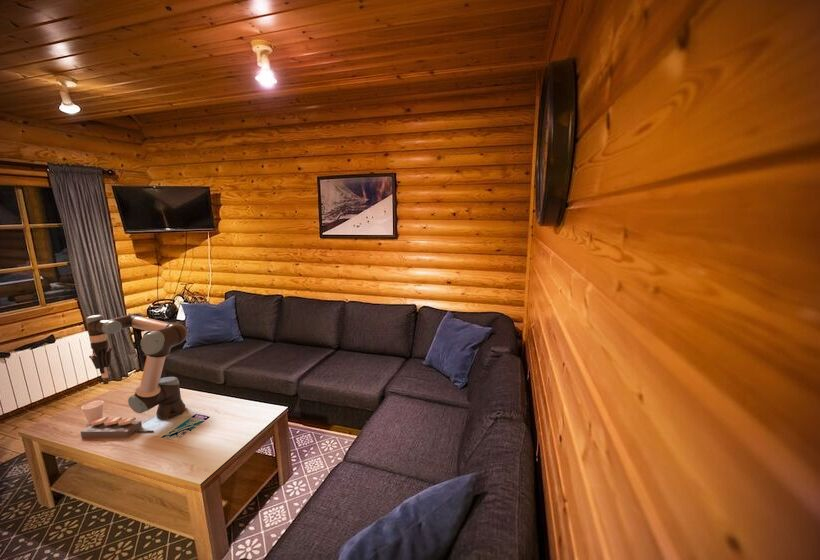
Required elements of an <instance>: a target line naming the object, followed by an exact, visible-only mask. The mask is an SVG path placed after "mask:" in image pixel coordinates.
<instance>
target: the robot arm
mask: <svg viewBox="0 0 820 560" xmlns="http://www.w3.org/2000/svg"><path fill="white" fill-rule="evenodd" d="M86 327H87V332H88V333H87V334H88V338H89V342H90V348H91V349H92V354H91V355H89V356H88V358H89V359H90V360H91V362H92V363H93V366H94V367H95V368H94V369H96V370H99V374H100V376H101V379H107V378H109V367H110V365H111V362H112V361H111V359H112V358H111V357H112V355H111V354H112V350H113V348H112V347H108V346H109V342H108V341H109V340H108V335H110V334H112V335H113V334H117V333H119V332H120V331H122V330H124V329H128V328H134V329H138V330H143V331H146V332H148V333H145V335H143V336H142V338H141V340H140V347H141V348H140V349H141V351H142V352H143V353H144V355H145V356H146V359H145V362H144V365H143V366H144V367H143V370H142V371H143V373H142V376H141V379H140V385H139V386H137V388H136V389H135V390H134V391H135V392H134V394H133V395H131V396H130V397H128V398H127V403H128V405H129V408H130V409H131V410H132V411H133V412H135V413H136V414H143V413H145V412H148V411H149V410H151V409H153V408H154V407H156V406H157V409H156V413H155V414H156V418H157V419H158V420H168V419H172V418H175V417H178V416H179V415H181V414H183V413H185V411H186V408H187V407H186V404H185V402H184V400H183V399H182V396H181V388H180V381H179V378H178V377H176V376H166V377H161V376H162V372H163V369H164V365H165V360H166V357H168V356H169V355H170V353H171V349H172V348H173V347H175V346H178V345H180V344H181V343H183V342H184V341H185V340H186V339H187V337H188V330H187V327H186V326H184V325H183V324H181V323H178V322H176V321H175V322H174V321H172V322H171V321H170V322H168V321H162V320H158V319H154V318H149V317H145V316H144V315H143V314H142V313H141V312H134V313H131V314H127V315H126V314H125V315H123V316H119V317H115V318H112V319H111V318H110V319H105V317H104V316H103V314H94V315H90V316H87V317H86ZM107 334H108V335H107Z"/></svg>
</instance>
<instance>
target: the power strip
mask: <svg viewBox="0 0 820 560" xmlns="http://www.w3.org/2000/svg"><path fill="white" fill-rule="evenodd" d="M107 421H108V420H106V421H105V422H107ZM105 422H103V423H101V424H97V425H93V426H91V425H89V426H87V427H86V428H84V429H82V430H81V431H80V436H81V439H128V438H130V437H131V436H133V435H134V434H135V433H154V432H155V431H154V430H141V429H142V427H143V425H142V420H134V421H133V422H132V423H130V424H125V425H120V426H119V425H118V423H119V422H120V421H119V422H118V423H116V424H111V425H106V426H105V425H104V423H105Z"/></svg>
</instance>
